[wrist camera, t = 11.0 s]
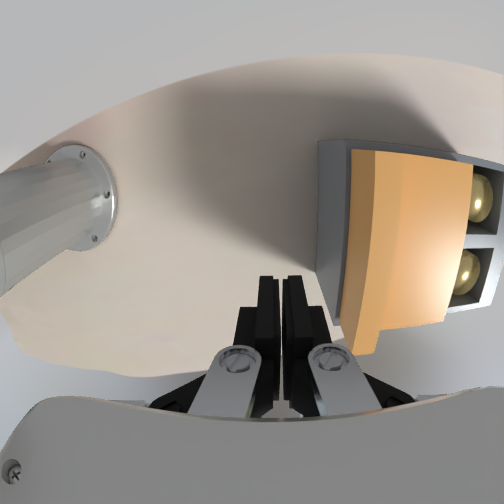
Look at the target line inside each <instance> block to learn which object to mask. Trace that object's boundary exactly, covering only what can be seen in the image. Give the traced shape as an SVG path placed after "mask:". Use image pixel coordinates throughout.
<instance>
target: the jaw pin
mask: <svg viewBox="0 0 504 504" xmlns="http://www.w3.org/2000/svg"><path fill="white" fill-rule="evenodd" d="M492 203H493V191H492V186H491V184H490V182H489V180H488V179H487V178H486V177H485V176H482V175H479V174H475V173H473V178H472V190H471V200H470V209H469V216H468V220H470V221H472V222H480V221H482V220H484V219H485V218H486V217H487V215H488V214H489V212H490V210H491V207H492Z"/></svg>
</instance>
